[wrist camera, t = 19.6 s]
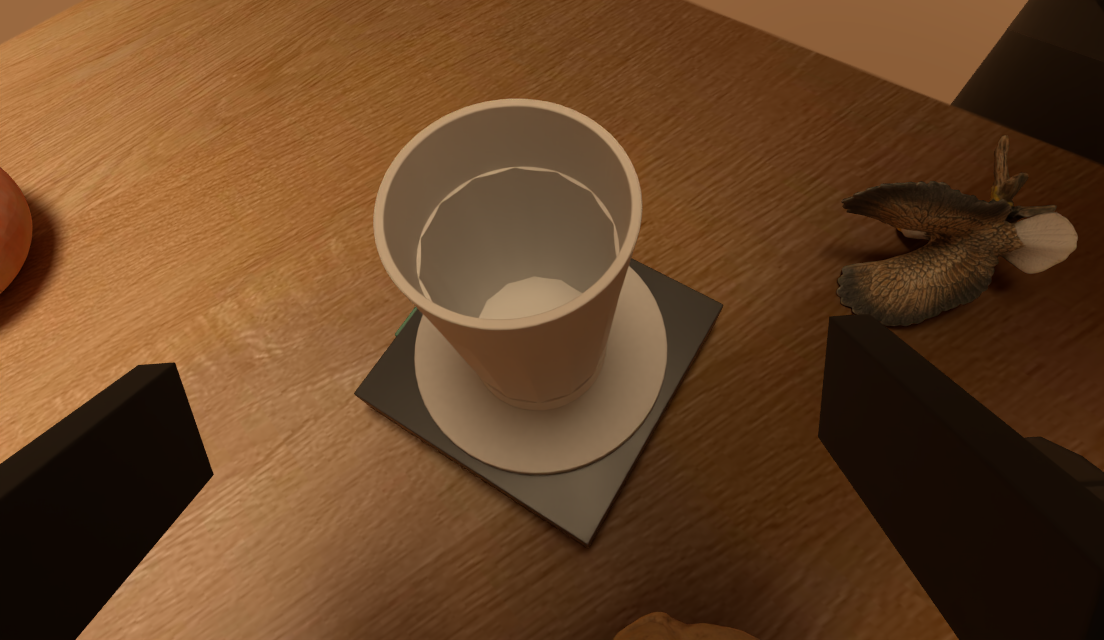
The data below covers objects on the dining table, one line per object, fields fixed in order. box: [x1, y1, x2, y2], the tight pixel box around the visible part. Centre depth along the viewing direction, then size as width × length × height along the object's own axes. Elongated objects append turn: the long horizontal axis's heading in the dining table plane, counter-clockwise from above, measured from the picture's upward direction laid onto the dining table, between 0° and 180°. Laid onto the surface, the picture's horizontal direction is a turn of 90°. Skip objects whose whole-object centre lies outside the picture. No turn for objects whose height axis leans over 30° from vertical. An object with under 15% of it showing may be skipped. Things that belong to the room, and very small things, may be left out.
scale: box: [354, 258, 723, 548], centre depth 31 cm, size 13×13×3 cm
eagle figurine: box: [836, 135, 1078, 326], centre depth 30 cm, size 8×7×9 cm
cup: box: [373, 99, 642, 410], centre depth 24 cm, size 8×8×12 cm
